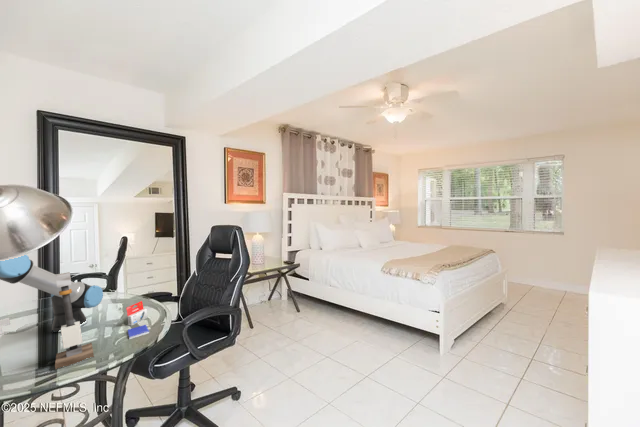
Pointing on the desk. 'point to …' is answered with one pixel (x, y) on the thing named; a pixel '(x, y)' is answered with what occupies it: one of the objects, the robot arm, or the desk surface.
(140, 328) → the hard drive
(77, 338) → the sleeve
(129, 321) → the ink cartridge box
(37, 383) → the desk surface
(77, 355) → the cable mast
